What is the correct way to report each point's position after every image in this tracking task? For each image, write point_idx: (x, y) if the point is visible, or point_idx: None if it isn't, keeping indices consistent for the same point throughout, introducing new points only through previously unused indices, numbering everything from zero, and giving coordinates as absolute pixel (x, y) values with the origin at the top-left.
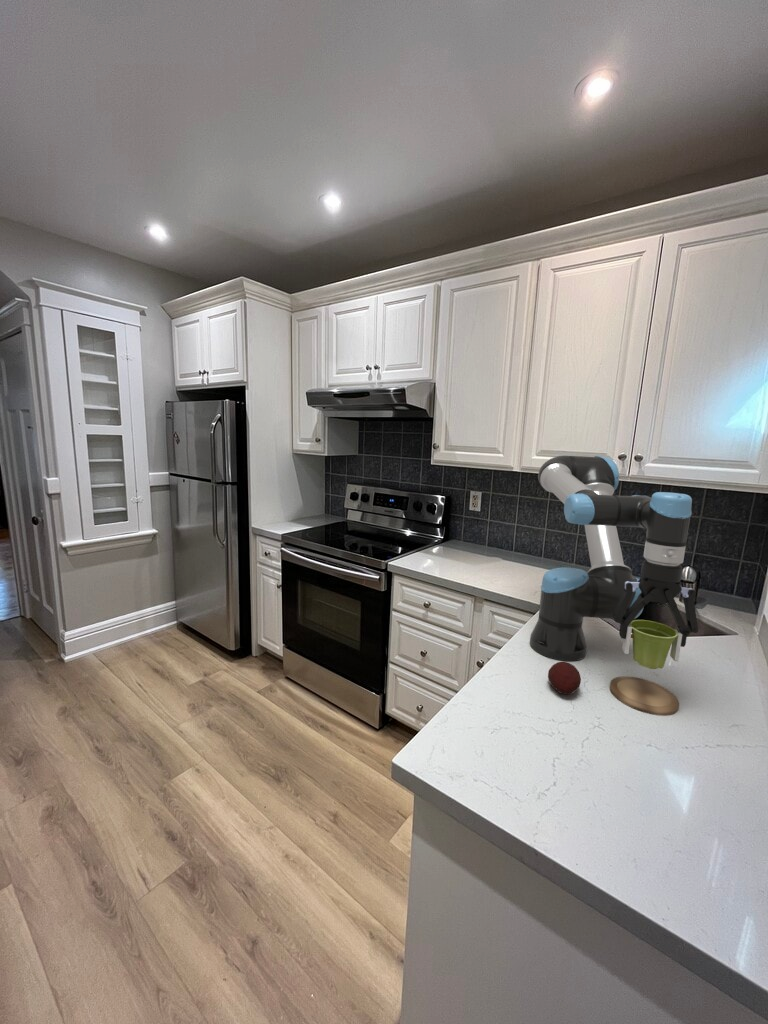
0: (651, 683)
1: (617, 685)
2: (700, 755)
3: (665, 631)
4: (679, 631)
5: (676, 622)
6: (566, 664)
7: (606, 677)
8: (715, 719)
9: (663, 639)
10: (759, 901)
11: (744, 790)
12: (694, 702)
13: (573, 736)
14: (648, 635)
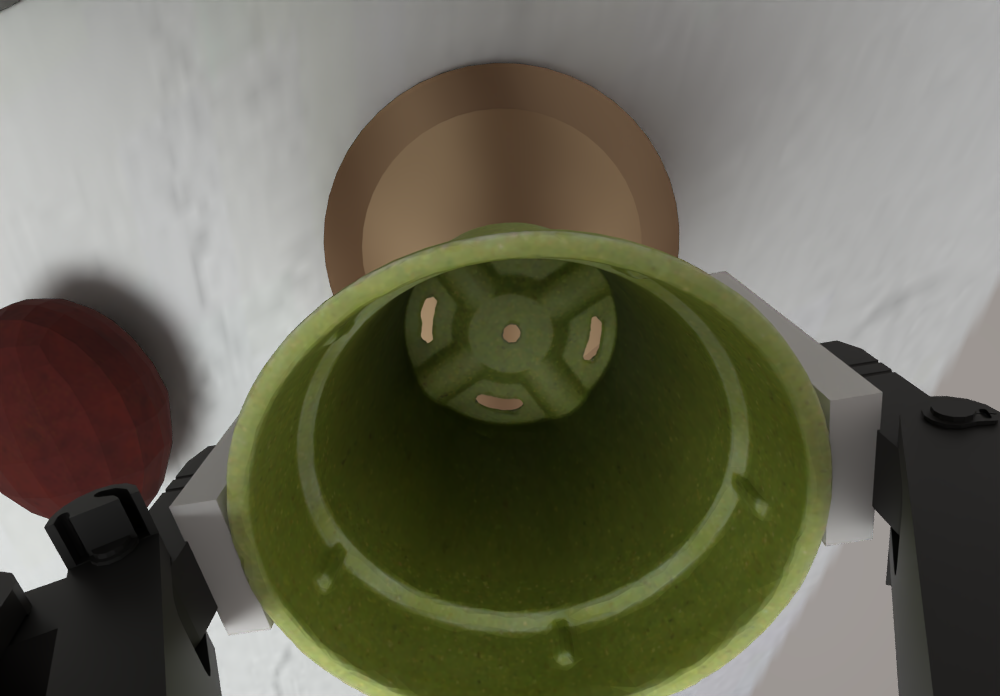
0: (564, 105)
1: (364, 252)
2: None
3: (712, 327)
4: (877, 460)
5: (904, 553)
6: (17, 437)
7: (302, 116)
8: (817, 296)
9: (606, 672)
10: None
11: (731, 666)
12: (773, 166)
13: (243, 666)
14: None
